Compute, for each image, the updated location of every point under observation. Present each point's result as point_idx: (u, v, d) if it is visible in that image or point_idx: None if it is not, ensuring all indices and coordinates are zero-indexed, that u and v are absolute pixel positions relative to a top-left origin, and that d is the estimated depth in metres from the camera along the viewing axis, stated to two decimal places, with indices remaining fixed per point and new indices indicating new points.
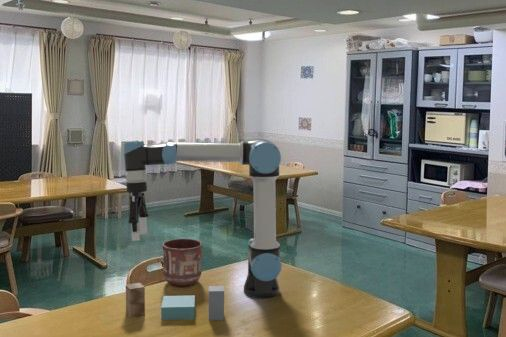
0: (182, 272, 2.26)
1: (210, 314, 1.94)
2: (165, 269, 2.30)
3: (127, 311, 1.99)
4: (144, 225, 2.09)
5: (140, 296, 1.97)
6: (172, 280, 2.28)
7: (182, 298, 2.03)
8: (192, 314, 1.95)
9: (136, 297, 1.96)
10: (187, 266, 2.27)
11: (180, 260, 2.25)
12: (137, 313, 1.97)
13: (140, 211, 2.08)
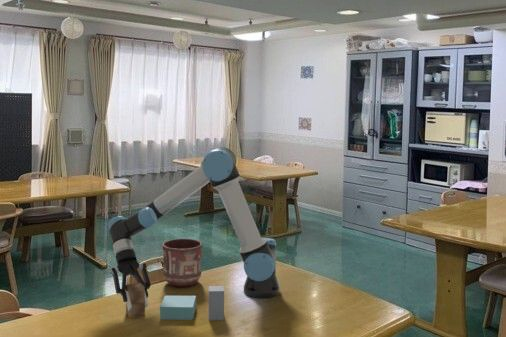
0: (182, 272, 2.26)
1: (210, 314, 1.94)
2: (165, 269, 2.30)
3: (127, 311, 1.99)
4: None
5: (140, 296, 1.97)
6: (172, 280, 2.28)
7: (183, 298, 2.03)
8: (191, 314, 1.95)
9: (136, 297, 1.96)
10: (187, 266, 2.27)
11: (180, 260, 2.25)
12: (137, 313, 1.97)
13: (138, 282, 2.03)
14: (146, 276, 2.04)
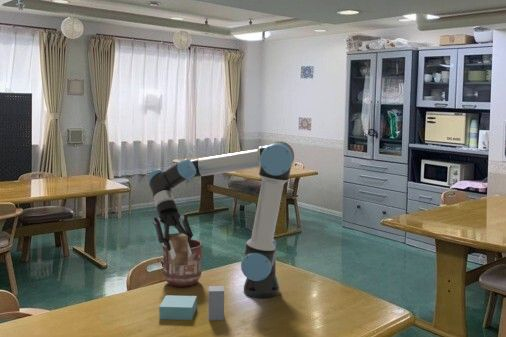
0: (182, 272, 2.26)
1: (210, 314, 1.94)
2: (165, 269, 2.30)
3: (170, 260, 1.98)
4: None
5: (184, 245, 1.96)
6: (172, 280, 2.28)
7: (183, 298, 2.03)
8: (190, 315, 1.95)
9: (180, 246, 1.96)
10: (187, 266, 2.27)
11: None
12: (181, 262, 1.96)
13: None
14: (188, 227, 2.03)
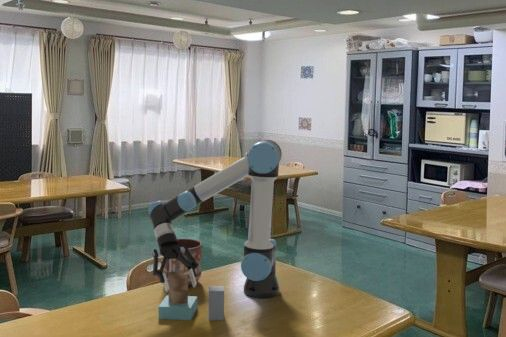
0: None
1: (210, 314, 1.94)
2: (165, 269, 2.30)
3: (170, 298, 2.00)
4: (192, 276, 2.01)
5: (184, 283, 1.98)
6: None
7: None
8: (189, 315, 1.94)
9: (180, 284, 1.97)
10: None
11: None
12: (181, 300, 1.98)
13: (184, 264, 2.05)
14: (191, 257, 2.06)
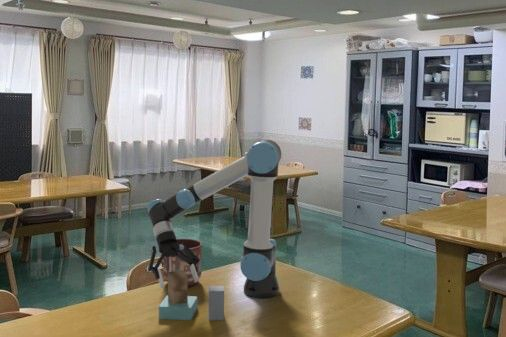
0: None
1: (210, 314, 1.94)
2: (165, 269, 2.30)
3: (170, 298, 2.00)
4: (193, 271, 2.03)
5: (183, 283, 1.98)
6: None
7: None
8: (189, 315, 1.94)
9: (179, 284, 1.97)
10: (187, 266, 2.27)
11: (180, 260, 2.25)
12: (181, 300, 1.98)
13: (185, 260, 2.06)
14: (191, 253, 2.07)
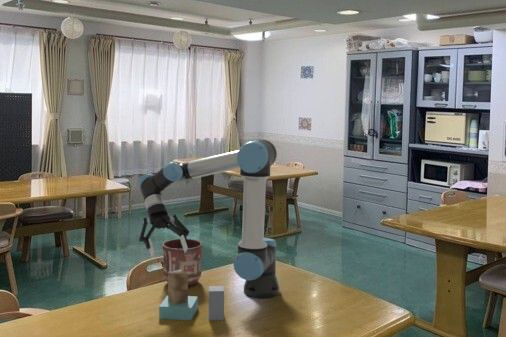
0: None
1: (210, 314, 1.94)
2: (165, 269, 2.30)
3: (170, 298, 2.00)
4: (183, 242, 2.10)
5: (184, 282, 1.98)
6: None
7: None
8: (189, 315, 1.94)
9: (180, 284, 1.97)
10: (187, 266, 2.27)
11: (180, 260, 2.25)
12: (181, 299, 1.98)
13: (176, 232, 2.13)
14: (181, 225, 2.14)
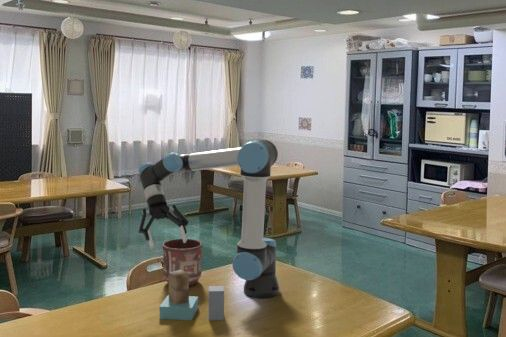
0: None
1: (210, 314, 1.94)
2: (165, 269, 2.30)
3: (171, 298, 2.00)
4: (182, 233, 2.12)
5: (185, 283, 1.98)
6: None
7: None
8: (189, 315, 1.94)
9: (181, 284, 1.97)
10: (187, 266, 2.27)
11: (180, 260, 2.25)
12: (182, 299, 1.98)
13: (175, 222, 2.15)
14: (181, 215, 2.16)
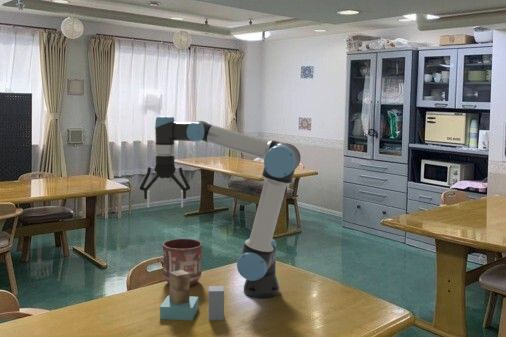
0: None
1: (210, 314, 1.94)
2: (165, 269, 2.30)
3: (171, 298, 1.99)
4: (181, 198, 2.17)
5: (186, 283, 1.98)
6: None
7: None
8: (190, 315, 1.94)
9: (182, 284, 1.97)
10: (187, 266, 2.26)
11: (180, 260, 2.25)
12: (183, 299, 1.98)
13: None
14: (184, 180, 2.15)
